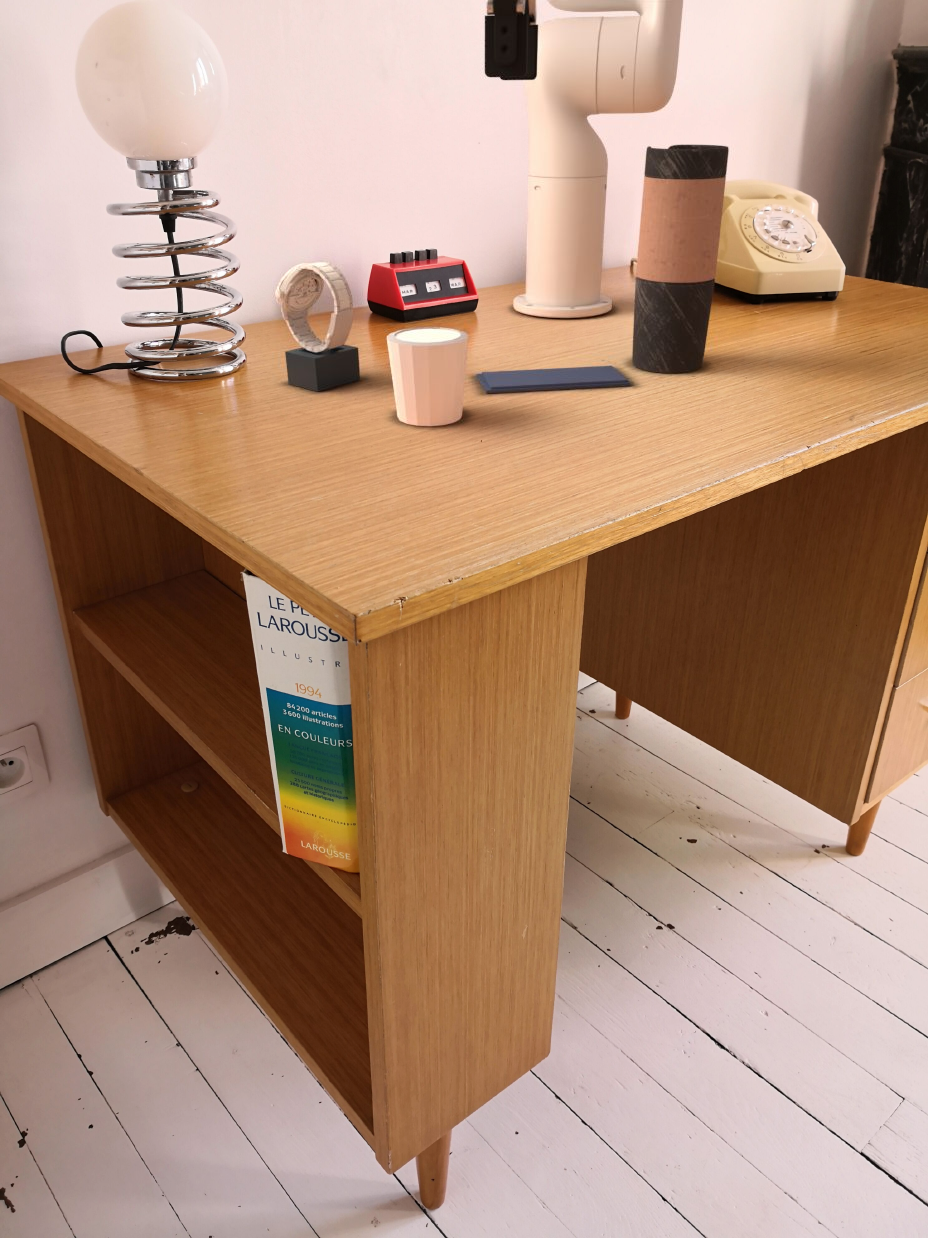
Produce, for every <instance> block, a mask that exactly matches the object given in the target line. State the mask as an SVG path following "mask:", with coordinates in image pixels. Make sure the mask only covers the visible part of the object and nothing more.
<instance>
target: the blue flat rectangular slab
mask: <svg viewBox="0 0 928 1238" xmlns="http://www.w3.org/2000/svg"><path fill="white" fill-rule="evenodd" d="M475 377H476V379H477V380H478V382H479V384H480V385H481V387H482V389H483V390H484V392H485V394H500V393H503V394H504V393H518V392H537V391H538V392H540V391H559V390H576V389H577V390H578V389H580V390H581V389H595V388H596V389H597V388H598V389H599V388H614V387H615V388H617V387H631V385H632V383H631V382H630V381H629V379H628V378H627V377H625V376H624V375H623V374H621V373H620V371H618V369H616V368H615V367H614V366H613V365H597V366H595V365H594V366H576V367H557V368H539V369H538V368H536V369H535V368H534V369H518V370H516V369H515V370H496V371H482V372H481V373H476V374H475Z"/></svg>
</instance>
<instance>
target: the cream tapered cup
mask: <svg viewBox="0 0 928 1238" xmlns="http://www.w3.org/2000/svg"><path fill="white" fill-rule="evenodd" d="M386 342H387V351H388V358H389V365H390V371H391V378H392V386H393V394H394V401H395V407H396V416H397V418H398V420H399V421H400V422H402V423H404V424H407V425H412V426H416V427H417V426H418V427H436V426H437V427H439V426H445V425H450V424H454V423H456V422H458V421H460V420H461V418H462V416H463V409H464V408H463V407H464V397H465V383H466V371H467V360H468V347H469V334H467V332H465V331H462V330H459V329H456V328H450V327H437V326H436V327H435V326H434V327H433V326H426V327H425V326H423V327H410V328H404V329H399V330H396V331H393V332H391V333H389V334H388V335H387V336H386Z"/></svg>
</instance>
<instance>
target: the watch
mask: <svg viewBox="0 0 928 1238" xmlns="http://www.w3.org/2000/svg"><path fill="white" fill-rule="evenodd" d="M324 281H325V282H324ZM325 284H326V285H327V287H328V288H329V290H330V292H331V293H330V294H331V296H332V298H333V312H332V313H331V316H330V321H329V326H328V330H327V333H326V335H325V338H324V341H322V340H321V339H320V338H318V337H317V335H316V334H315V332H314V331H313V329H312V327H311V325H310V322H308V321H309V320H308V317H309V316H310V315H311V313H312V310H313V307H314V305H315V304H316V303H317V301H318V300H319V298H320V297H321V295H322V293H323V290H324V287H325V286H324V285H325ZM351 291H352V290H351V288H350V285H349V283H348V280H347V279H346V276H344V274H343V272H342V271H341V270H340V269H339V268H338V267H337V266H336V265H334V264H333V263H330V262H328V261H318V262H313V263H308V262H303V263H299V264H296V265H295V266H293V267H291V268H290V269H289V270H288V271H287V272H286V273H285V274H284V275H283V276H282V277H281V278H280V280H279V282H278V284H277V287H276V290H275V292H274V295H275V300H276V302H277V304H278V305H279V309H280V312H281V317H282V319H283V320H284V321H285V322H286V325H287V327H288V330H289V332H290V333H291V335H292V336H293V339H294V340H295V341H296V342H297V343H298V344H299V346H300V347H298V348H295V349H289V350H285V352H284V353H285V363H286V375H287V383H288V385H291V386H295V387H300V388H303V389H306V390H310V391H314V392H316V393H318V392H321V391H325V390H329V389H332V388H335V387H339V386H342V385H347V384H350V383H354V382H356V381H361V371H360V355H359V354H360V353H359V347H358V346H357V347H356V346H352V345H349V344H346V343H347V340H348V338H349V336H350V333H351V331H352V326H353V322H354V318H355V317H354V316H355V309H354V299H353V295H352V292H351Z"/></svg>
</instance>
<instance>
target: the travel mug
mask: <svg viewBox="0 0 928 1238" xmlns="http://www.w3.org/2000/svg"><path fill="white" fill-rule="evenodd" d="M729 152H730V147H729V146H727V145H717V144H672V145H670V146H669V147H668V148H659V147H652V146H647V147H646V151H645V161H644V162H645V164H644V173H643V174H644V176H643V186H642V187H643V188H642V196H641V197H642V198H641V199H642V200H641V211H640V223H639V234H638V244H637V245H638V246H637V256H636V257H637V258H636V270H635V271H636V272H635V276H636V277H635V286H634V305H633V306H634V309H633V329H632V330H633V332H632V352H631V353H632V354H631V356H632V357H631V358H632V359H631V361H632V365H633V366H634V367H636V368H637V369H640V370H643V371H646V372H653V373H661V374H683V373H691V372H695V371H697V370H699V369H701V368H702V366H703V364H704V357H705V350H706V344H707V339H708V338H707V337H708V332H709V331H708V330H709V324H710V317H711V311H712V304H713V303H712V302H713V296H714V289H715V282H716V274H717V266H718V256H719V247H720V237H721V229H722V228H721V227H722V219H723V218H722V217H723V209H724V199H725V190H726V182H727V181H726V180H727V169H728V160H729Z"/></svg>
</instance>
